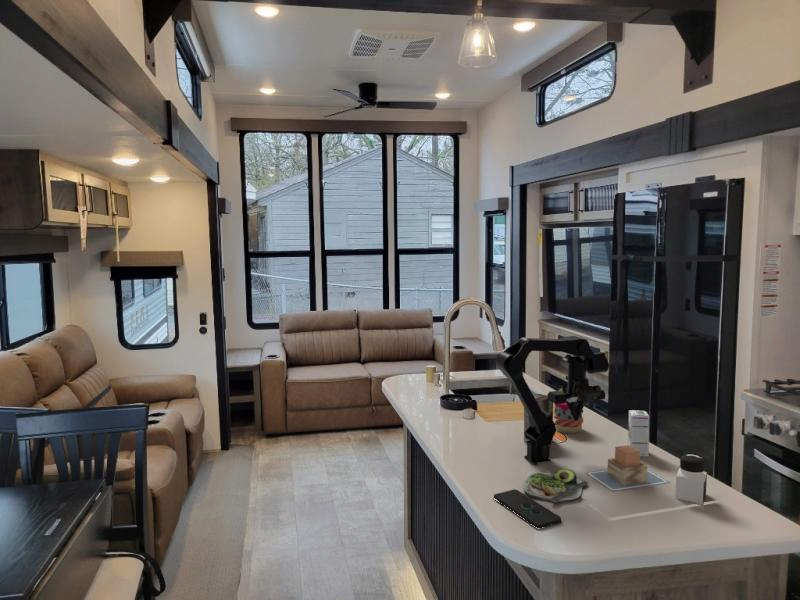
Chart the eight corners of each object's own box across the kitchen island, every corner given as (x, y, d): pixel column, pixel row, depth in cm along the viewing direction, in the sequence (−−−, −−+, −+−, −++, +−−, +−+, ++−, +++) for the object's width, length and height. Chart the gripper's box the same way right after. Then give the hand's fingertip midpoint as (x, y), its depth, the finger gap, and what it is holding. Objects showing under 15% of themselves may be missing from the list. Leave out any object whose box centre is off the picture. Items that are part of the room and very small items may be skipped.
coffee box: (538, 435, 220) (539, 393, 219) (553, 440, 216) (554, 396, 214) (523, 441, 214) (523, 398, 213) (538, 446, 210) (538, 401, 208)
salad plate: (583, 512, 162) (583, 496, 161) (517, 502, 168) (517, 486, 168) (588, 483, 179) (589, 468, 179) (528, 475, 186) (528, 461, 185)
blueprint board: (612, 493, 172) (612, 491, 172) (584, 474, 185) (584, 472, 185) (671, 484, 177) (671, 482, 177) (640, 466, 190) (640, 464, 190)
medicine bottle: (703, 506, 163) (705, 463, 162) (674, 500, 167) (676, 458, 166) (706, 496, 169) (707, 455, 168) (678, 490, 173) (680, 450, 172)
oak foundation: (623, 484, 176) (624, 469, 176) (607, 474, 184) (607, 459, 183) (647, 481, 178) (647, 465, 178) (629, 470, 186) (630, 456, 185)
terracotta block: (625, 469, 177) (625, 452, 177) (614, 462, 182) (615, 446, 182) (639, 466, 179) (640, 450, 178) (629, 460, 184) (629, 445, 183)
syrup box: (648, 458, 197) (650, 415, 196) (630, 457, 198) (631, 414, 197) (645, 452, 203) (646, 410, 201) (627, 451, 204) (628, 409, 202)
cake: (581, 425, 231) (581, 387, 230) (584, 434, 221) (585, 394, 219) (553, 423, 233) (553, 386, 232) (555, 433, 223) (555, 393, 221)
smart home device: (537, 525, 152) (492, 494, 170) (537, 531, 152) (492, 500, 170) (563, 517, 155) (516, 488, 173) (562, 524, 156) (516, 494, 173)
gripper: (564, 382, 188) (563, 431, 189) (616, 377, 193) (615, 425, 194) (546, 374, 198) (546, 420, 200) (596, 370, 203) (595, 415, 205)
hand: (575, 420), depth 200 cm, fingers closed
